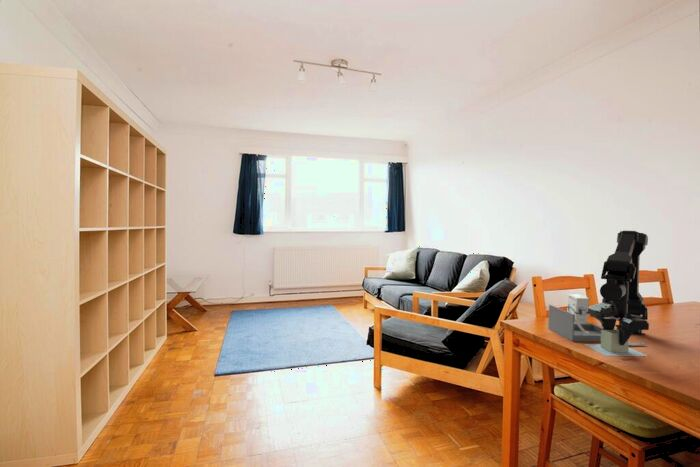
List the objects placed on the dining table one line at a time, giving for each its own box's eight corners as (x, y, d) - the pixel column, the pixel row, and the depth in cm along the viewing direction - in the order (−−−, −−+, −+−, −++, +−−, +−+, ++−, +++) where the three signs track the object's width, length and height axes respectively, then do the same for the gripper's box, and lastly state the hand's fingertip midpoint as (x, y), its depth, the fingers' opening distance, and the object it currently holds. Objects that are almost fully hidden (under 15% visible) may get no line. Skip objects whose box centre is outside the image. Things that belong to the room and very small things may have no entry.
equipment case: (592, 329, 136) (593, 305, 136) (621, 342, 122) (622, 315, 121) (548, 329, 136) (549, 304, 135) (572, 342, 121) (573, 314, 121)
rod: (643, 346, 119) (643, 342, 119) (646, 347, 118) (646, 344, 117) (620, 344, 119) (621, 341, 118) (623, 345, 117) (624, 342, 117)
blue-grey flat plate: (622, 345, 119) (622, 344, 119) (648, 357, 109) (648, 355, 109) (583, 345, 119) (583, 344, 119) (605, 356, 109) (605, 355, 109)
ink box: (566, 319, 150) (567, 293, 149) (578, 320, 149) (580, 294, 148) (575, 325, 141) (576, 297, 141) (588, 326, 140) (589, 298, 140)
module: (617, 347, 116) (618, 329, 116) (628, 352, 112) (629, 333, 112) (600, 347, 116) (601, 329, 116) (610, 352, 112) (611, 333, 111)
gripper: (574, 290, 122) (572, 332, 123) (616, 303, 104) (613, 353, 104) (604, 290, 122) (602, 332, 123) (651, 303, 104) (649, 353, 104)
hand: (615, 342), depth 114 cm, fingers open, 5 cm apart
